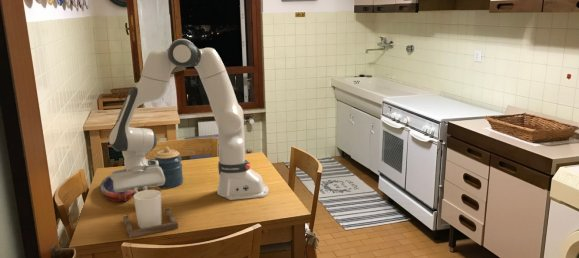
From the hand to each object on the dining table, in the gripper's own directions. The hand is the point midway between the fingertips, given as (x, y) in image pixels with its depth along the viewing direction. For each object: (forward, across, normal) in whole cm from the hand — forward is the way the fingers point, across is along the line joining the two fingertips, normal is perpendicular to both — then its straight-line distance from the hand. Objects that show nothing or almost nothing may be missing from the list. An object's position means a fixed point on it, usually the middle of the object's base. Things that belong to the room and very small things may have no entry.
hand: (142, 197), depth 187 cm
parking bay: (+14, 0, -7) cm, 16 cm away
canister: (-14, +16, +21) cm, 30 cm away
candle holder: (+15, 0, -8) cm, 17 cm away
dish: (-13, -6, +21) cm, 25 cm away
